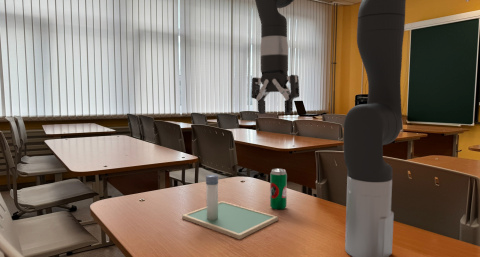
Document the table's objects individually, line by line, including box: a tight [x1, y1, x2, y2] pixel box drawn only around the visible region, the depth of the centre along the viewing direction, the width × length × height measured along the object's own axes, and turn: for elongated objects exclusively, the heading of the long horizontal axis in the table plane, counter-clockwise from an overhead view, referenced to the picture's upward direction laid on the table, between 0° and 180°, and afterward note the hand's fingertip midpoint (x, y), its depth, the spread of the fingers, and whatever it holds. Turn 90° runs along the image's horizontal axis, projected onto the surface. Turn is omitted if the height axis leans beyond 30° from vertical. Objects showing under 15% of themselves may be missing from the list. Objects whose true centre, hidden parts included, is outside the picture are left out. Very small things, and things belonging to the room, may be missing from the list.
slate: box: [181, 200, 279, 240], centre depth 97 cm, size 22×17×1 cm
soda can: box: [269, 168, 288, 211], centre depth 106 cm, size 5×5×12 cm
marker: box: [205, 174, 219, 220], centre depth 95 cm, size 3×3×12 cm
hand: (274, 114), depth 95 cm, fingers open, 8 cm apart
